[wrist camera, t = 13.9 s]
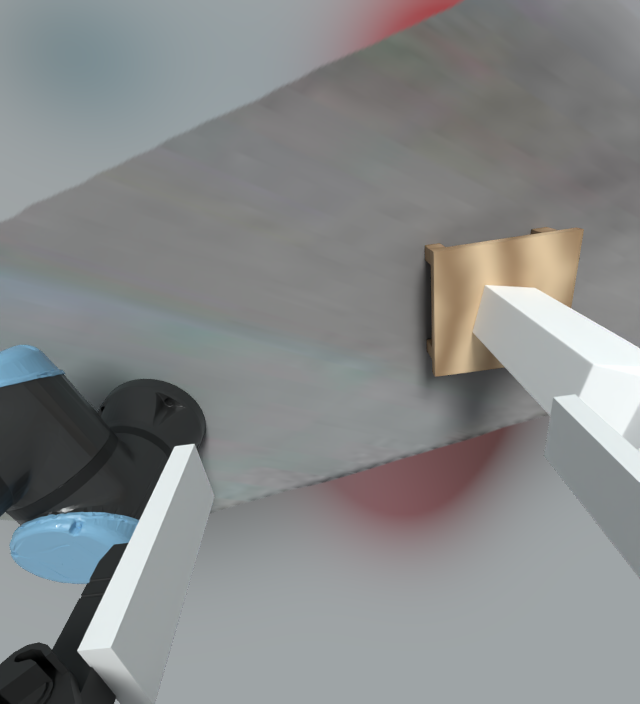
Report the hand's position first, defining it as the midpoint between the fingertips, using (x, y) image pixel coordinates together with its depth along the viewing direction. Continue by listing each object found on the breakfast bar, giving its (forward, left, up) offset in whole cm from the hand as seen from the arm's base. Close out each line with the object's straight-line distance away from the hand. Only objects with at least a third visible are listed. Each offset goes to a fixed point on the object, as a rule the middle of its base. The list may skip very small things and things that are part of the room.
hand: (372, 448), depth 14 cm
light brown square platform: (+19, -9, -37) cm, 42 cm away
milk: (+19, -9, -31) cm, 37 cm away
